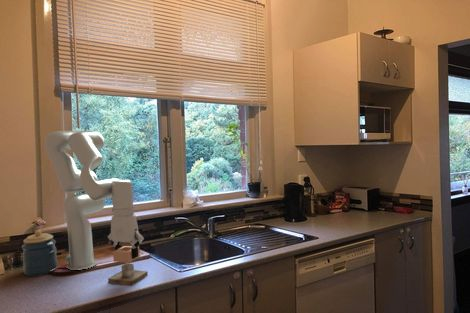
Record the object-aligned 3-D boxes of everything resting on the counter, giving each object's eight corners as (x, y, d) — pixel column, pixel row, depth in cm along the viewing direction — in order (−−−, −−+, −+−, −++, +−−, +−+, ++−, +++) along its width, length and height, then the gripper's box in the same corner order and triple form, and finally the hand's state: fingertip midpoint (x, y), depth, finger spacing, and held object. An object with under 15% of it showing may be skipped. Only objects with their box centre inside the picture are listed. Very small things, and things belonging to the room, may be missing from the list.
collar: (113, 261, 141) (112, 251, 141) (125, 255, 148) (124, 245, 147) (128, 262, 139) (128, 252, 138) (139, 256, 145) (139, 246, 145)
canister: (63, 264, 164) (60, 225, 163) (49, 275, 151) (46, 233, 150) (33, 266, 164) (30, 227, 162) (17, 277, 151) (13, 235, 150)
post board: (108, 282, 141) (107, 268, 141) (124, 272, 150) (123, 259, 150) (132, 285, 137) (131, 270, 137) (147, 275, 146) (146, 261, 146)
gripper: (98, 213, 142) (102, 258, 143) (136, 214, 135) (139, 261, 136) (111, 209, 149) (115, 252, 150) (148, 210, 142) (151, 255, 143)
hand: (126, 256), depth 143 cm, fingers closed on collar, 7 cm apart
